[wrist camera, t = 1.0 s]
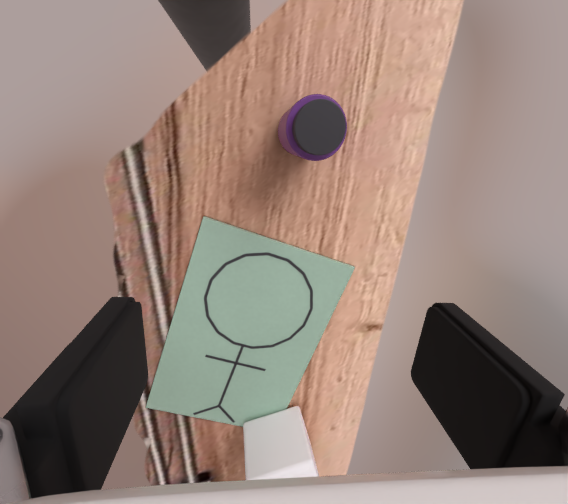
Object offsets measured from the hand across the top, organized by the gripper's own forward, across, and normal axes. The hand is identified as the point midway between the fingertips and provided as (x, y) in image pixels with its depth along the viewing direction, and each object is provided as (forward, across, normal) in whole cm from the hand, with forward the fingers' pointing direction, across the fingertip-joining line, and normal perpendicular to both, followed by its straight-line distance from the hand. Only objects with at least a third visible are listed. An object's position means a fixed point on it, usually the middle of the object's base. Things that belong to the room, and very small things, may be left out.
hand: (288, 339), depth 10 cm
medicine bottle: (+20, -3, +28) cm, 35 cm away
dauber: (+20, -3, -7) cm, 22 cm away
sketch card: (+20, +2, +15) cm, 25 cm away
